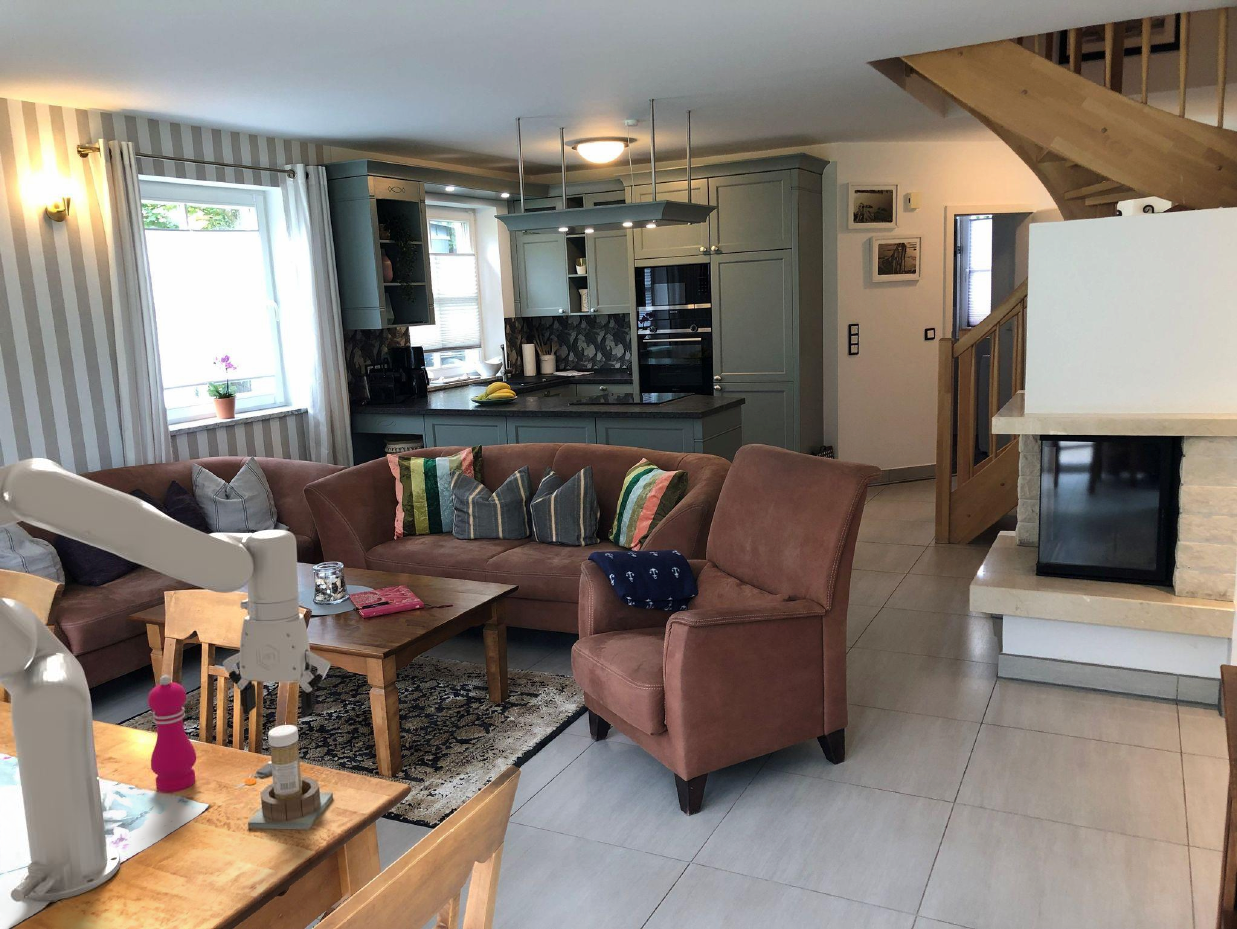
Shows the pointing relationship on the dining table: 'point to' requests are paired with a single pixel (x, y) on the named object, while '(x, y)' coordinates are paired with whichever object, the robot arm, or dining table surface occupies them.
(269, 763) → the key chain
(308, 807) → the collar
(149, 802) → the dining table surface
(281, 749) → the sprinkles bottle
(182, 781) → the pepper mill
